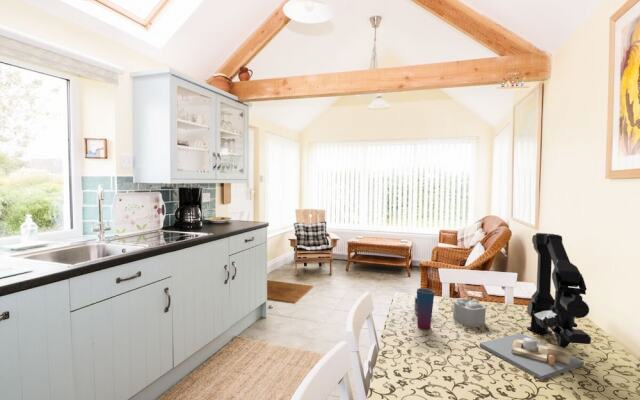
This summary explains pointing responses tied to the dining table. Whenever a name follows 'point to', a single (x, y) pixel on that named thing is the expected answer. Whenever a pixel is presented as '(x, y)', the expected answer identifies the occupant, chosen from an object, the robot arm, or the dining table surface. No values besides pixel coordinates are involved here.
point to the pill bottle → (415, 304)
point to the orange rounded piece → (551, 360)
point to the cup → (424, 307)
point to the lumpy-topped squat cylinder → (469, 312)
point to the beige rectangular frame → (542, 352)
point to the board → (527, 364)
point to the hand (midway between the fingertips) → (561, 350)
